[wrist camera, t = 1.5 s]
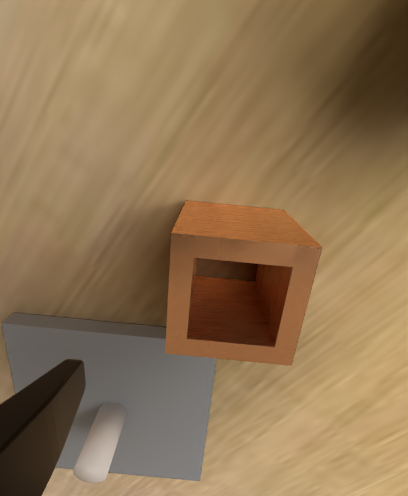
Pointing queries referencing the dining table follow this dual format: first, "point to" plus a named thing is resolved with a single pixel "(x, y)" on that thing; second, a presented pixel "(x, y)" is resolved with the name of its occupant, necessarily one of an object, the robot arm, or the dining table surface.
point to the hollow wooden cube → (239, 283)
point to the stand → (120, 395)
